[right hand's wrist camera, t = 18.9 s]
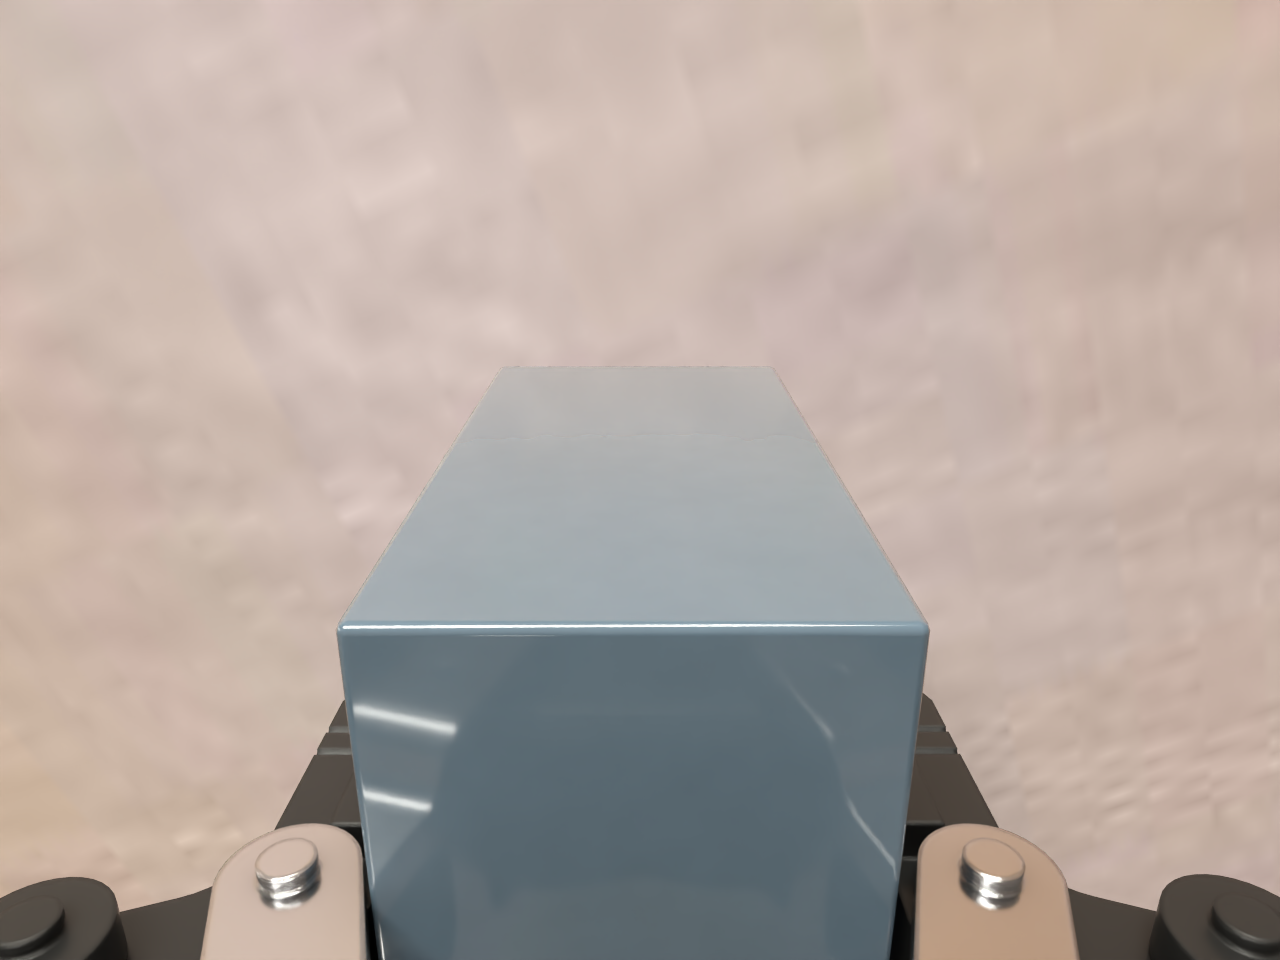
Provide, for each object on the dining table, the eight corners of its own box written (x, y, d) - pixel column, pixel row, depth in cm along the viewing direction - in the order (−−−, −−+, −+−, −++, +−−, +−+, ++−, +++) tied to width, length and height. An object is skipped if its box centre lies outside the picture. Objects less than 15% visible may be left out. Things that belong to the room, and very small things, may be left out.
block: (520, 759, 17) (417, 1286, 9) (499, 365, 15) (329, 625, 7) (754, 759, 17) (853, 1287, 9) (774, 366, 15) (935, 625, 7)
